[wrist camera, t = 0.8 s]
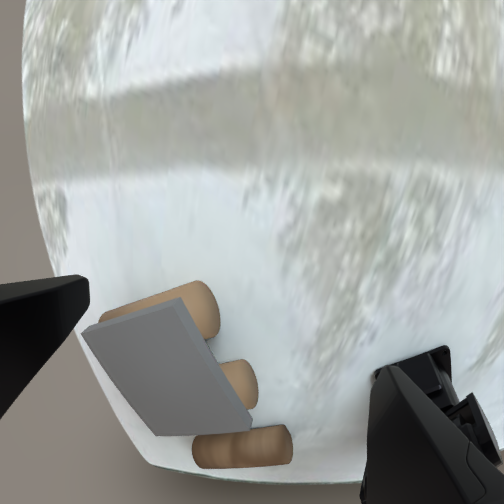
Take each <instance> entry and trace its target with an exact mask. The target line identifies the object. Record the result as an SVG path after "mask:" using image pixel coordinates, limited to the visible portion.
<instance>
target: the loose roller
mask: <svg viewBox="0 0 504 504" xmlns="http://www.w3.org/2000/svg"><path fill="white" fill-rule="evenodd" d="M192 455H193V459H194V461H195V463H196V464H197V465H198V466H199V467H200V468H202V469H227V468H249V467H263V466H274V465H284V464H289V463H290V462H291V460H292V456H293V444H292V438H291V435H290V433H289V431H288V429H287V428H286V426H285V425H278V426H271V427H264V428H257V429H250V431H243V432H233V433H222V434H208V435H197V436H196V437H195V438H194V440H193V444H192Z"/></svg>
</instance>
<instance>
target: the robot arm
mask: <svg viewBox="0 0 504 504" xmlns="http://www.w3.org/2000/svg"><path fill="white" fill-rule="evenodd" d="M89 304H90V291H89V281H88V279H87V278H85V277H83V276H80V275H77V274H76V275H68V276H61V277H53V278H46V279H38V280H31V281H23V282H15V283H8V284H1V285H0V419H1V418H2V416H3V415H4V414H5V413H6V411H7V410H8V409H9V407H10V406H11V405H12V404H13V402H14V401H15V400H16V399H17V397H18V396H19V395H20V393H21V392H22V391H23V389H24V388H25V387H26V386H27V385H28V384H29V382H30V381H31V380H32V379H33V377H34V376H35V375H36V374H37V372H38V371H39V370H40V369H41V368H42V367H43V365H44V364H45V363H46V362H47V361H48V359H49V358H50V357H51V356H52V355H53V354H54V352H55V351H56V350H57V349H58V348H59V347H60V346H61V344H62V343H63V342H64V341H65V339H66V338H67V337H68V335H69V334H70V332H71V331H72V330H73V328H74V327H75V326H76V324H77V323H78V321H79V320H80V319H81V317H82V316H83V315H84V313H85V312H86V311H87V309H88V307H89ZM443 351H445V352H444V353H442V352H443ZM375 378H376V381H375V383H374V384H373V386H372V389H371V394H370V408H369V420H368V431H367V462H366V467H365V472H364V476H363V481H362V485H361V491H360V499H361V503H362V504H504V474H503V473H501V472H500V471H499V470H498V469H497V467H499V466H500V465H502V464H503V461H502V458H501V454H500V450H499V447H498V443H497V440H496V438H495V435H494V433H493V431H492V428H491V426H490V424H489V422H488V419H487V417H486V416H485V414H484V412H483V410H482V408H481V406H480V405H479V403H478V401H477V399H476V398H475V396H474V394H473V392H472V393H470V394H469V395H468V396H466V398H465V399H464V400H462V401H461V402H459V399H458V397H457V395H456V392H455V390H454V388H453V385H452V376H451V357H450V349H449V347H448V346H447V345H443V346H441V347H438V348H436V349H433V350H430V351H428V352H425V353H423V354H420V355H417V356H414V357H412V358H409V359H406V360H403V361H400V362H397V363H394V364H391V365H385V366H384V367H382V368H379V369H377V370H376V371H375Z"/></svg>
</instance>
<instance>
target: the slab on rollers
mask: <svg viewBox="0 0 504 504" xmlns="http://www.w3.org/2000/svg"><path fill="white" fill-rule="evenodd" d="M219 329H220V313H219V308H218V305H217V302H216V299H215V297H214V295H213V293H212V292H211V290H210V289H209V287H208V286H207V285H206V284H205V283H203V282H201V281H193V282H191V283H188V284H185V285H182V286H179V287H176V288H173V289H171V290H168V291H165V292H162V293H159V294H156V295H153V296H150V297H148V298H145V299H142V300H139V301H136V302H133V303H130V304H127V305H125V306H122V307H119V308H116V309H113V310H110V311H107V312H105V313H104V314H102V316H101V317H100V319H99V322H98V323H97V324H94V325H91V326H89V327H88V328H87V329H85V330H84V331H83V332H82V333H81V335H82V337H83V338H84V340H85V341H86V343H87V345H88V346H89V348H90V349H91V351H92V352H93V354H94V355H95V357H96V358H97V360H98V361H99V363H100V364H101V366H102V367H103V369H104V370H105V372H106V373H107V374H108V376H109V377H110V379H111V380H112V381H113V383H114V384H115V386H116V387H117V388H118V390H119V391H120V392H121V394H122V395H123V396H124V398H125V399H126V400H127V402H128V403H129V404H130V405H131V407H132V408H133V409H134V410H135V412H136V413H137V414H138V415H139V417H140V418H141V419H142V420H143V422H144V423H145V424H146V425H147V426H148V427H149V429H150V430H151V431H152V432H153V433H154V434H155V436H189V435H208V434H222V433H233V432H243V431H250V429H251V425H252V421H253V418H252V417H251V415H250V414H249V412H248V411H247V409H253V408H254V407H255V406H256V404H257V401H258V384H257V379H256V376H255V373H254V371H253V369H252V367H251V365H250V364H249V363H248V362H247V361H246V360H244V359H241V360H237V361H232V362H227V363H223V364H218V362H217V361H216V359H215V357H214V356H213V354H212V352H211V350H210V349H209V347H208V345H207V344H206V342H205V340H204V339H208V338H212V337H215V336H216V335H217V334H218V332H219Z"/></svg>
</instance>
